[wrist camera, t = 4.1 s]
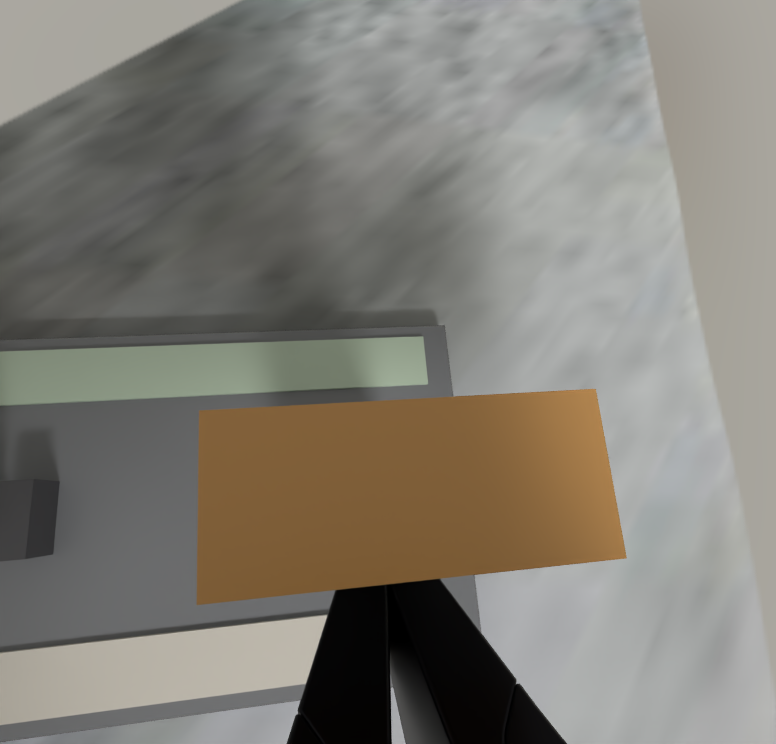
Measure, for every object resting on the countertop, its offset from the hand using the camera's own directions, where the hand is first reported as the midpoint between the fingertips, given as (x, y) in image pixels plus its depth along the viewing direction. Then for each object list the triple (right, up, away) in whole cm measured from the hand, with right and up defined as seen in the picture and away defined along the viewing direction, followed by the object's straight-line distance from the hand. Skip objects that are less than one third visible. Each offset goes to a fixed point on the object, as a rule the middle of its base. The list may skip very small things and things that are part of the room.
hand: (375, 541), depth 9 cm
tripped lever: (-1, -1, +8) cm, 8 cm away
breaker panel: (-8, -2, +9) cm, 12 cm away
